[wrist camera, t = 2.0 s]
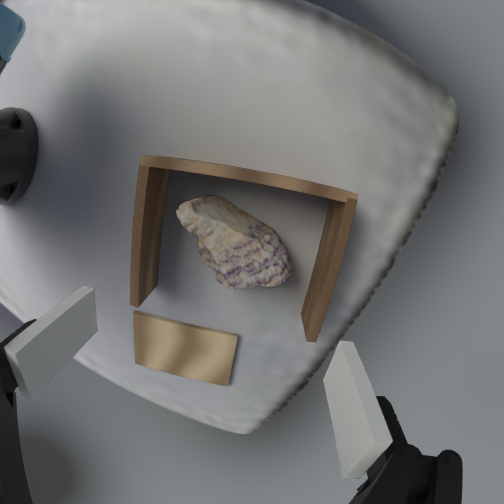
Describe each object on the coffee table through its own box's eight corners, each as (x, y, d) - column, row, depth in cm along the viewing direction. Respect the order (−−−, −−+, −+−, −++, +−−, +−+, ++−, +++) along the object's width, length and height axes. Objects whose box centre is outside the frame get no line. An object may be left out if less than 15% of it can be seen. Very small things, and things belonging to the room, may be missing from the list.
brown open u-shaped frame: (149, 283, 34) (130, 305, 28) (163, 156, 30) (141, 154, 24) (308, 315, 34) (315, 342, 28) (341, 189, 30) (358, 194, 24)
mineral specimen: (172, 239, 32) (152, 255, 26) (201, 185, 30) (185, 189, 24) (265, 294, 34) (265, 320, 28) (299, 244, 32) (306, 262, 26)
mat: (136, 361, 38) (135, 363, 37) (135, 310, 35) (133, 312, 35) (228, 383, 38) (227, 386, 37) (238, 334, 35) (237, 336, 35)
